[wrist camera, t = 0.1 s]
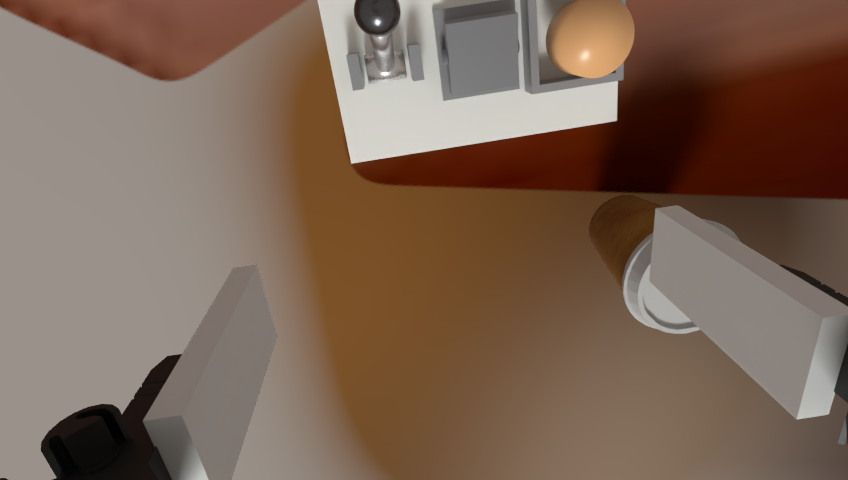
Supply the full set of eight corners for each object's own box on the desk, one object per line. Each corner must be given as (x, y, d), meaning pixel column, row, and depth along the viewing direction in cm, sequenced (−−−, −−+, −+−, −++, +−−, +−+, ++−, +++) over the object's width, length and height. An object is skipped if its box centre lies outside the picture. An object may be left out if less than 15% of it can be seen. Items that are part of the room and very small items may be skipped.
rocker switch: (438, 19, 35) (441, 25, 33) (515, 7, 35) (522, 12, 33) (444, 89, 38) (448, 96, 36) (516, 77, 38) (522, 84, 36)
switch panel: (315, -28, 37) (306, -36, 32) (603, -72, 37) (637, -86, 32) (353, 154, 42) (349, 171, 37) (601, 114, 43) (630, 126, 38)
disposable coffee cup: (571, 275, 49) (627, 347, 38) (573, 185, 45) (635, 236, 34) (663, 262, 49) (745, 329, 39) (672, 171, 46) (766, 217, 35)
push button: (544, 4, 34) (559, 2, 31) (615, -7, 34) (636, -10, 31) (546, 79, 36) (560, 83, 33) (613, 68, 36) (633, 72, 33)
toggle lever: (365, 57, 36) (345, -20, 26) (402, 51, 36) (397, -29, 26) (370, 91, 36) (353, 27, 26) (407, 85, 36) (405, 19, 26)
